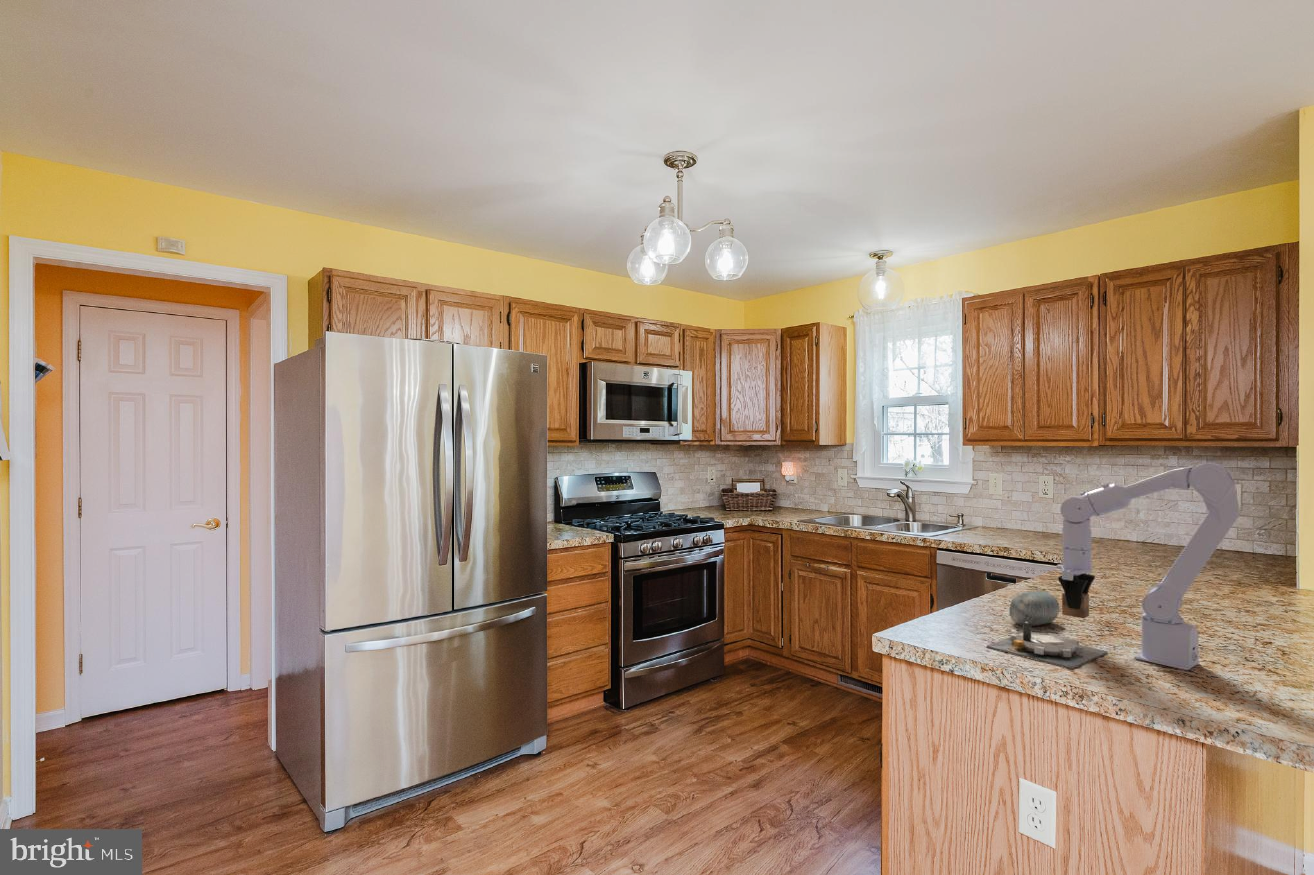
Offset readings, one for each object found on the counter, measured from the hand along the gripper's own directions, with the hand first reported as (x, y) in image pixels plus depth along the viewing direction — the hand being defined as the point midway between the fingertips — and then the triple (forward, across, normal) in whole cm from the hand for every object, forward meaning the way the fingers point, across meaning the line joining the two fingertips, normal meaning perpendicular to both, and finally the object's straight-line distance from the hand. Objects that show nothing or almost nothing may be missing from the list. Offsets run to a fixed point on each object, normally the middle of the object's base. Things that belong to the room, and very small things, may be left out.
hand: (1076, 606), depth 154 cm
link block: (+2, 0, 0) cm, 2 cm away
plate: (+9, +9, -4) cm, 13 cm away
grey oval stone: (+9, -13, -13) cm, 21 cm away
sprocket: (+9, +9, -4) cm, 13 cm away
